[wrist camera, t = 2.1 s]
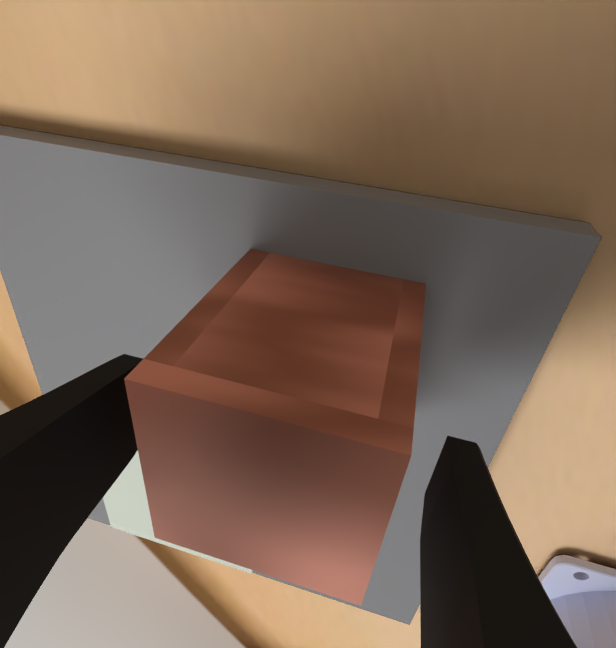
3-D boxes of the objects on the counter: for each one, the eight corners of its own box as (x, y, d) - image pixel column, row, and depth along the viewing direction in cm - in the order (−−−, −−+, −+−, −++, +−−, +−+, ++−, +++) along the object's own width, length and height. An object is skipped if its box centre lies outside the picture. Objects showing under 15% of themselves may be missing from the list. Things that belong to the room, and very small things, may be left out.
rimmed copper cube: (426, 283, 12) (411, 455, 7) (389, 416, 14) (360, 605, 10) (250, 248, 12) (124, 378, 8) (248, 380, 15) (154, 537, 10)
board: (589, 223, 11) (710, 370, 6) (410, 603, 22) (400, 763, 17) (-20, 122, 14) (-276, 163, 9) (95, 501, 25) (10, 612, 20)
